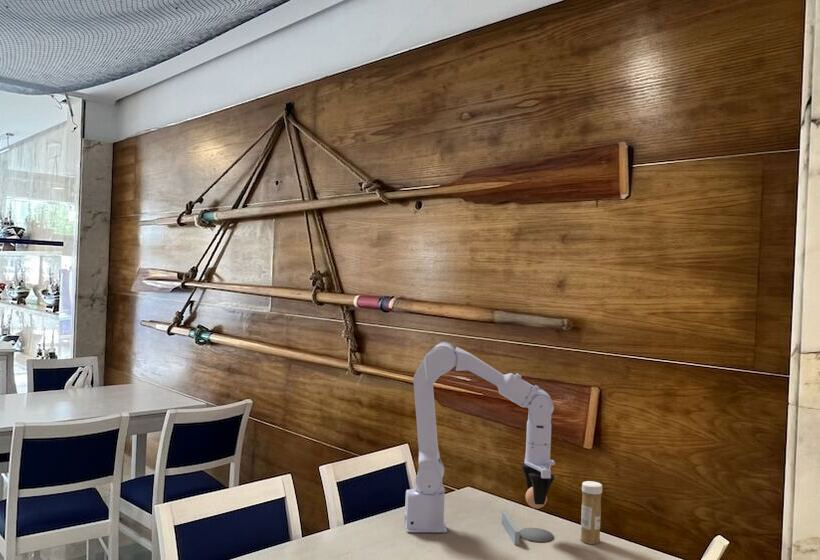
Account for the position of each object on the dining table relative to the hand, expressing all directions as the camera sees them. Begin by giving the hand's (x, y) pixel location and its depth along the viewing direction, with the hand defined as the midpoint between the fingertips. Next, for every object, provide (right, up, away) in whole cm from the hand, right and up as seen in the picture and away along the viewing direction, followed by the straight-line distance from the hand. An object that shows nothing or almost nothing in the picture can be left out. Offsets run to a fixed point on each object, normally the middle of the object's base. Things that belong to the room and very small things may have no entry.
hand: (536, 499), depth 156 cm
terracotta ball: (0, -2, 0) cm, 2 cm away
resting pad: (0, -9, 0) cm, 8 cm away
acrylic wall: (-6, -8, +1) cm, 10 cm away
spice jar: (+12, -9, -2) cm, 15 cm away
